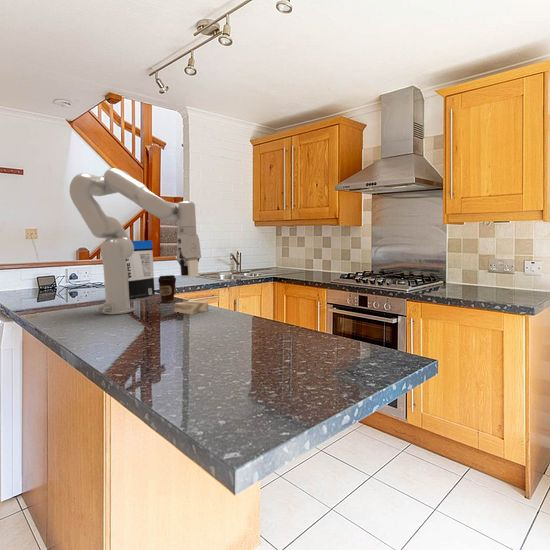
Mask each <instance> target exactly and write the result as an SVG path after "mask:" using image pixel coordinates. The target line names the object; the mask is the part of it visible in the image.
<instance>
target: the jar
mask: <svg viewBox="0 0 550 550" xmlns="http://www.w3.org/2000/svg"><path fill="white" fill-rule="evenodd" d="M183 261H184V260H183ZM179 266H180V265H179ZM186 266H188V275H181V274H180V278H189V279H190V278H196V277H199V275H200V274H199V261H198V258H190V259H187V265H186ZM180 271H181V266H180Z"/></svg>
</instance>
